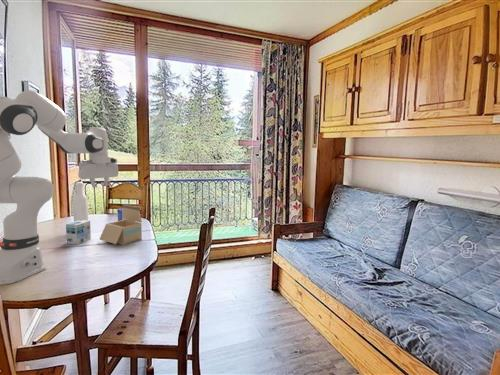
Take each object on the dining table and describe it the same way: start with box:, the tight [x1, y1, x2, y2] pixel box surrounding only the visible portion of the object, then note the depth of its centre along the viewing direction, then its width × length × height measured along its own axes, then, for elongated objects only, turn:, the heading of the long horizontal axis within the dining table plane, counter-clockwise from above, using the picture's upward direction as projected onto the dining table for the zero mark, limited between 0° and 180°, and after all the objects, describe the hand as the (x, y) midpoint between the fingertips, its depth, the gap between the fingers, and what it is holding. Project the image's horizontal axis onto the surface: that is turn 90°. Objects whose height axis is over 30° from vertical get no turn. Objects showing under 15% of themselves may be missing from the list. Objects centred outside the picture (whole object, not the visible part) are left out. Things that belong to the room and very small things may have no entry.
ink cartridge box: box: [116, 203, 136, 222], centre depth 198 cm, size 10×6×14 cm, turn 147°
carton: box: [99, 220, 143, 245], centre depth 170 cm, size 17×14×9 cm
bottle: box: [72, 181, 89, 222], centre depth 183 cm, size 8×8×30 cm
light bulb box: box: [65, 220, 92, 246], centre depth 166 cm, size 11×7×11 cm, turn 168°
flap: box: [122, 204, 142, 223], centre depth 175 cm, size 9×13×1 cm
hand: (99, 186), depth 158 cm, fingers open, 4 cm apart
